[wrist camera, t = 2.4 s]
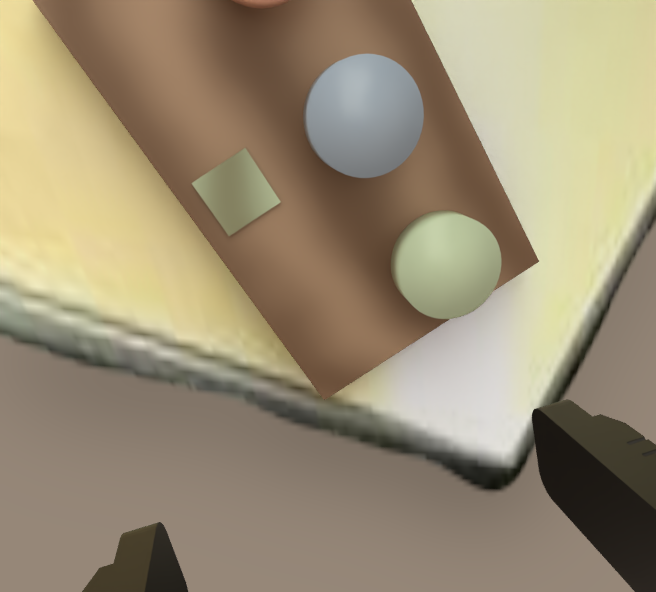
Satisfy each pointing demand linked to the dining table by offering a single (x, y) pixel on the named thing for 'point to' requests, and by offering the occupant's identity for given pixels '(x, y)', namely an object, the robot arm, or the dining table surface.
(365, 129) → the button slate
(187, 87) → the console
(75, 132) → the dining table surface
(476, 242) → the button sage
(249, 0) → the button terracotta
